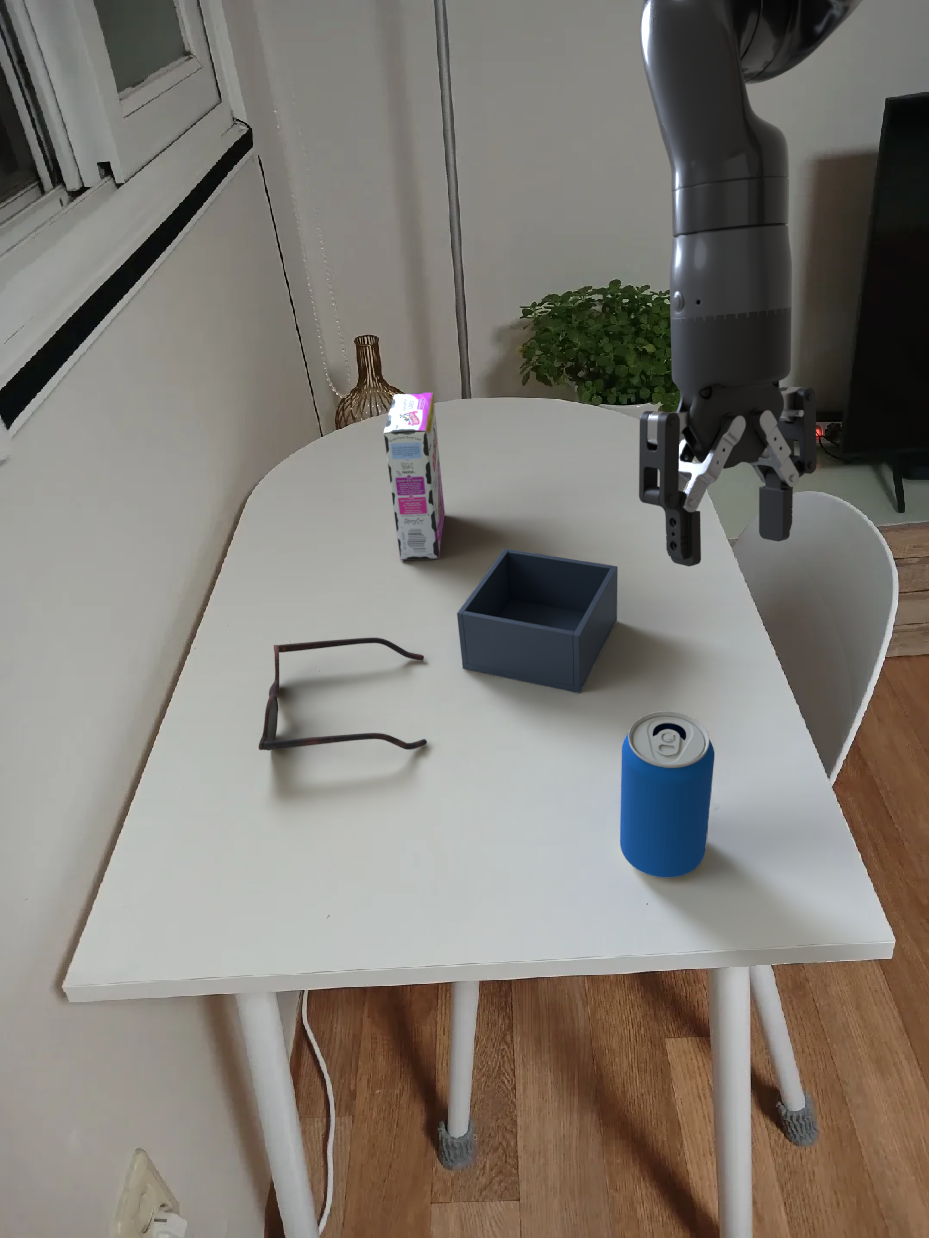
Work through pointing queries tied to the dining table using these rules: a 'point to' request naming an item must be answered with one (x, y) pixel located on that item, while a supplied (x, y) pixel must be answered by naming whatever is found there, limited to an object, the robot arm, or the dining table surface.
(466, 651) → the bin
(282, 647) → the eyeglasses
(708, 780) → the beverage can
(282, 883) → the dining table surface
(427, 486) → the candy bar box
